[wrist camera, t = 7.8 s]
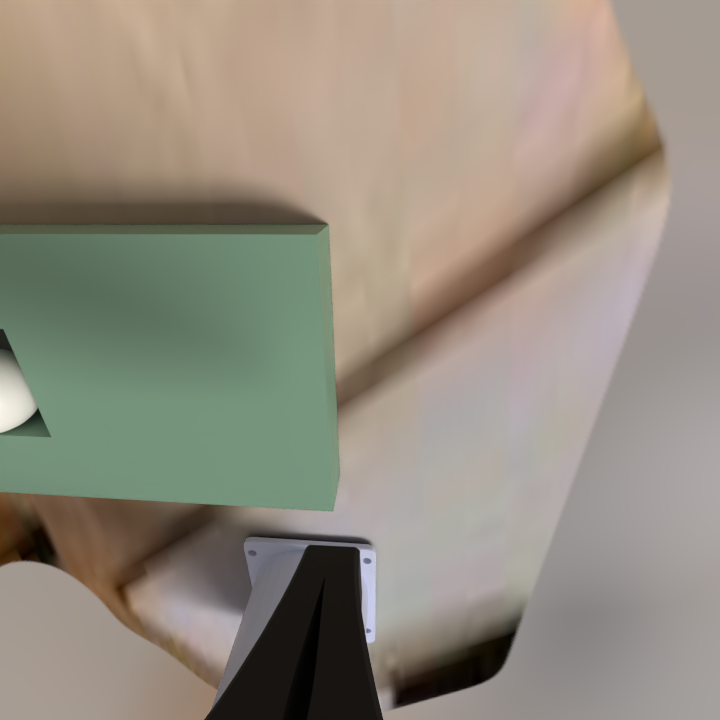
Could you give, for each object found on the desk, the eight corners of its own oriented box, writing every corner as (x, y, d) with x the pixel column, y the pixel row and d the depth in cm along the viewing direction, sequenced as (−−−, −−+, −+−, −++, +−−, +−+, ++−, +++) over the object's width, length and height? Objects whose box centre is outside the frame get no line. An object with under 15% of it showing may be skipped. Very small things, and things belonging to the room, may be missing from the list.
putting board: (339, 475, 21) (333, 511, 19) (-32, 456, 23) (-77, 487, 21) (328, 224, 16) (317, 234, 13) (-164, 224, 17) (-247, 233, 15)
